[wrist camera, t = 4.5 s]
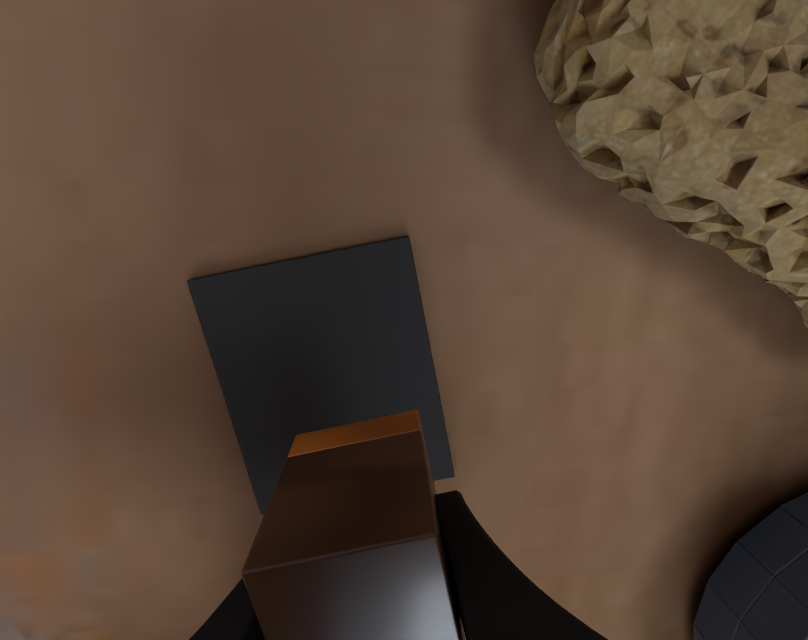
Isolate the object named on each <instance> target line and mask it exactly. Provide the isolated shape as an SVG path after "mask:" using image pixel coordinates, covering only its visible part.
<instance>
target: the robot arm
mask: <svg viewBox="0 0 808 640" xmlns="http://www.w3.org/2000/svg"><path fill="white" fill-rule="evenodd" d="M435 497H436V504H437V511H438V517H439V523H440V527H441V532H442V537H443V541H444V546H445V550H446V555H447V560H448V564H449V569H450V574H451V578H452V583H453V587H454V592H455V597H456V601H457V606H458V610H459V615H460V619H461V622H462V626H463V629H464V633H465V637H466V640H608V639H606V638H605V637H603V636H602V635H600V634H599V633H597V632H596V631H594V630H592V629H591V628H590V627H588V626H587V625H586V624H584V623H583V622H582V621H580V620H579V619H577V618H576V617H575V616H573V615H572V614H571V613H569V612H568V611H567V610H565V609H564V608H563V607H561V606H560V605H559V604H557V603H556V602H555V601H554V600H552V599H551V598H550V597H549V596H548V595H547V594H545V593H544V592H543V591H542V590H541V589H539V588H538V587H537V586H536V585H535V584H534V583H533V582H532V581H531V580H530V579H528V578H527V577H526V576H525V575H524V574H523V573H522V572H521V571H520V570H519V569H518V568H517V567H516V566H515V565H514V564H513V563H512V562H511V561H510V559H509V558H508V557H507V556H506V555H505V554H504V553H503V552H502V551H501V550H500V549H499V547H498V546H497V545H496V544H495V543H494V542H493V540H492V539H491V538H490V537H489V535H488V534H487V533H486V532H485V530H484V529H483V528H482V527H481V525H480V524H479V523H478V521H477V520H476V518H475V517H474V515H473V514H472V512H471V511H470V509H469V508H468V506H467V504H466V503H465V501H464V499H463V497H462V494H461V493H460V492H458V491H457V490H455V491H451V492H446V493H441V494H436V495H435ZM189 640H265V639H264V636H263V633H262V631H261V628H260V625H259V622H258V619H257V616H256V614H255V611H254V608H253V605H252V602H251V600H250V597H249V594H248V591H247V588H246V585H245V583H244V580H243V578H242V579H241V580H240V582H239V583H238V584H237V585H236V587H235V588H234V589H233V590H232V591H231V593H230V594H229V595H228V596H227V597H226V598H225V600H224V601H223V602H222V603H221V604H220V605H219V607H218V608H217V609H216V610H215V611H214V613H213V614H212V615H211V616H210V617H209V618H208V620H207V621H206V622H205V623H204V624H203V625H202V626H201V627H200V628H199V630H198V631H197V632H196V633H195V634H194V635H193V636H192V637H191V638H190V639H189Z"/></svg>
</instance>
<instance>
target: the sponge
mask: <svg viewBox="0 0 808 640" xmlns="http://www.w3.org/2000/svg"><path fill="white" fill-rule="evenodd" d="M534 62H535V69H536V76H537V78H538V80H539V83H540V85H541V87H542V89H543V91H544V93H545V95H546V97H547V99H548V101H549V103H550V105H551V106H552V107H553V109H554V117H555V122H556V125H557V128H558V132H559V135H560V137H561V138H562V140H563V141H564V143H565V144H566V146H567V147H568V149H569V150H570V152H571V153H572V154H573V156H574V157H575V159H576V160H577V161H578V163H579V164H580V165H581V167H582V168H584V169H585V170H587V171H588V172H590V173H591V174H593V175H594V176H596V177H597V178H599V179H604V180H609V181H614V182H615V183H617V184H619V185H620V188H619V191H618V194H617V195H619V196H621V197H623V198H625V199H627V200H629V201H631V202H634V203H635V204H637V205H639V206H640V207H642V208H643V209H645V210H646V211H648V212H649V213H651V214H652V215H654V216H656V217H657V218H659V219H663V220H665V221H666V222H667V223H669V224H670V225H671V226H672V227H673V228H674V229H675V230H676V231H677V232H679V233H680V234H681V235H682V236H683V237H685V238H691V239H695V240H698V241H701V242H704V243H706V244H709V245H712V246H714V247H717V248H720V249H722V250H723V251H724V252H725V253H727V254H728V255H729V256H730V257H731V258H732V260H733V261H734V262H736V263H737V264H739V265H740V266H742V267H743V268H745V269H746V270H748V271H749V272H751V273H755V274H759V275H760V276H762V277H763V278H765V279H766V280H765V281H764V283H770V284H775V285H777V286H778V288H779V290H782V291H783V292H784V293H785V294H786V295H787V296H788V297H789V298H790V299H791V300H792V301H793V302H794V303H795V305H796V309H797V311H798V312H799V314H800V315H801V317H802V318H803V320H804V325H805V326H806V328H807V329H808V0H556V1H555V2H554V4H553V6H552V8H551V10H550V12H549V14H548V17H547V20H546V23H545V26H544V29H543V31H542V34H541V37H540V40H539V43H538V45H537V48H536V51H535V54H534Z"/></svg>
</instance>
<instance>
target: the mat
mask: <svg viewBox="0 0 808 640" xmlns="http://www.w3.org/2000/svg"><path fill="white" fill-rule="evenodd" d="M188 285H189V288H190V291H191V294H192V297H193V301H194V304H195V307H196V310H197V313H198V316H199V319H200V323H201V326H202V329H203V332H204V335H205V338H206V341H207V345H208V348H209V351H210V354H211V357H212V360H213V364H214V367H215V370H216V373H217V376H218V379H219V382H220V386H221V389H222V392H223V395H224V398H225V401H226V404H227V408H228V411H229V414H230V417H231V420H232V423H233V426H234V430H235V433H236V436H237V439H238V442H239V445H240V448H241V452H242V455H243V458H244V461H245V464H246V467H247V470H248V474H249V477H250V480H251V483H252V486H253V489H254V492H255V496H256V499H257V502H258V505H259V508H260V511H261V514H265V512H266V509H267V507H268V504H269V502H270V499H271V497H272V494H273V492H274V489H275V487H276V484H277V482H278V479H279V477H280V474H281V472H282V469H283V466H284V464H285V461H286V459H287V458H288V454H289V452H290V449H291V447H292V444H293V442H294V439H295V437H296V435H298V434H303V433H307V432H312V431H317V430H322V429H327V428H332V427H336V426H341V425H346V424H351V423H356V422H361V421H365V420H370V419H375V418H380V417H385V416H390V415H394V414H399V413H404V412H409V411H414V410H417V411H418V412H419V416H420V421H421V425H422V430H423V435H424V439H425V444H426V449H427V453H428V458H429V463H430V467H431V472H432V477H433V481H435V480H440V479H445V478H450V477H454V476H455V475H454V470H453V465H452V459H451V454H450V449H449V444H448V438H447V433H446V428H445V422H444V417H443V412H442V407H441V401H440V396H439V391H438V386H437V380H436V375H435V370H434V365H433V359H432V354H431V349H430V344H429V338H428V333H427V328H426V322H425V317H424V312H423V307H422V301H421V296H420V291H419V286H418V280H417V275H416V270H415V265H414V259H413V254H412V249H411V244H410V238H409V236H403V237H398V238H393V239H388V240H383V241H378V242H373V243H368V244H363V245H358V246H354V247H349V248H344V249H339V250H334V251H329V252H324V253H319V254H314V255H309V256H304V257H299V258H294V259H289V260H284V261H279V262H274V263H269V264H264V265H259V266H254V267H249V268H244V269H239V270H234V271H229V272H224V273H219V274H214V275H209V276H204V277H199V278H194V279H190V280H188Z"/></svg>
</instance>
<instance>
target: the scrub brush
mask: <svg viewBox="0 0 808 640" xmlns="http://www.w3.org/2000/svg"><path fill="white" fill-rule="evenodd" d="M435 495H436V490H435V486H434V481H433V477H432V472H431V467H430V463H429V458H428V453H427V449H426V444H425V439H424V435H423V430H422V425H421V421H420V416H419V412H418V411H417V410H414V411H409V412H404V413H399V414H394V415H390V416H385V417H380V418H375V419H370V420H365V421H361V422H356V423H351V424H346V425H341V426H336V427H332V428H327V429H322V430H317V431H312V432H307V433H303V434H298V435H296V437H295V439H294V442H293V444H292V447H291V449H290V452H289V454H288V458H287V459H286V461H285V464H284V466H283V469H282V472H281V474H280V477H279V479H278V482H277V484H276V487H275V489H274V492H273V494H272V497H271V499H270V502H269V504H268V507H267V509H266V512H265V515H264V517H263V520H262V522H261V525H260V527H259V530H258V532H257V535H256V537H255V540H254V542H253V545H252V547H251V550H250V552H249V555H248V558H247V560H246V563H245V565H244V568H243V570H242V577H243V580H244V583H245V585H246V588H247V591H248V594H249V597H250V600H251V602H252V605H253V608H254V611H255V614H256V616H257V619H258V622H259V625H260V628H261V631H262V633H263V636H264V639H265V640H465V635H464V629H463V626H462V622H461V619H460V615H459V610H458V606H457V601H456V597H455V592H454V587H453V583H452V578H451V574H450V569H449V564H448V560H447V555H446V550H445V546H444V541H443V537H442V532H441V527H440V523H439V517H438V511H437V504H436V497H435Z"/></svg>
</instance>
